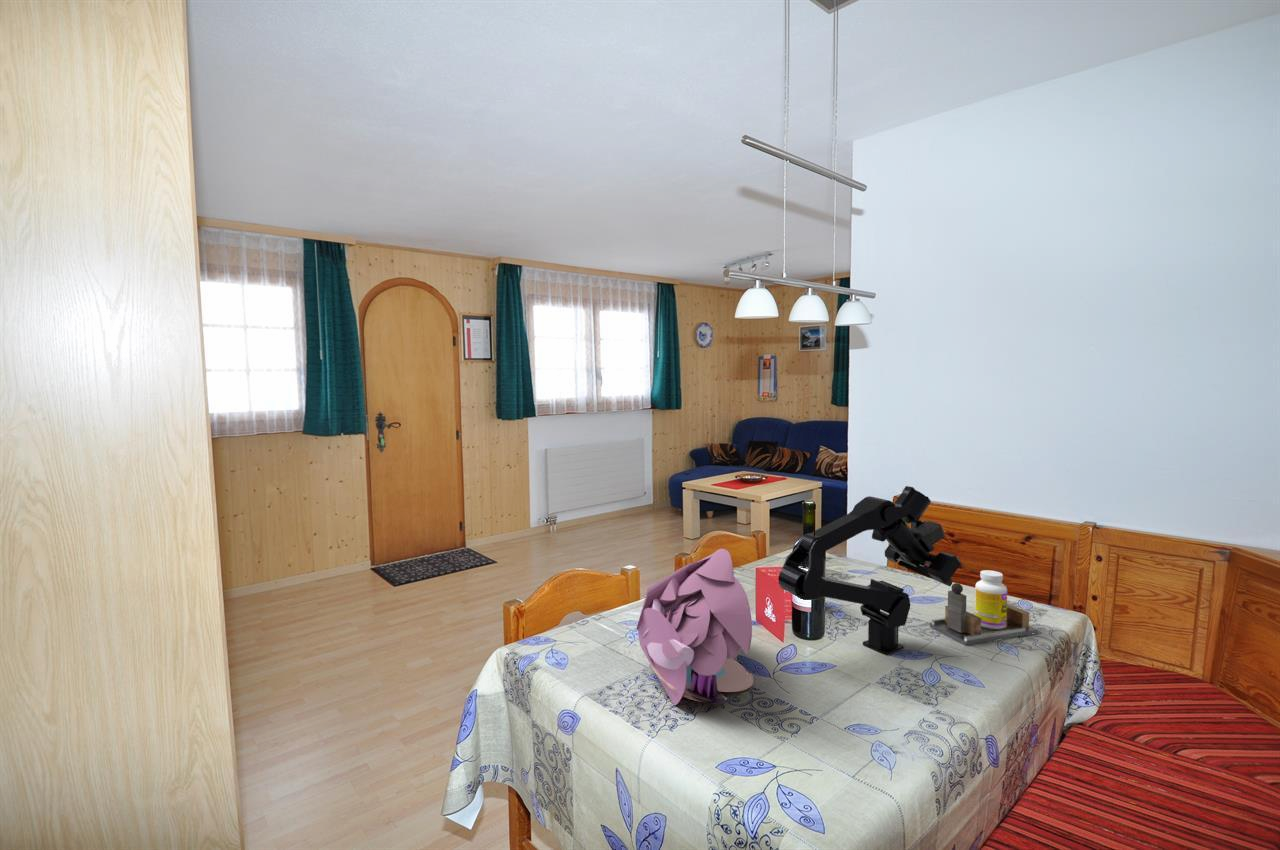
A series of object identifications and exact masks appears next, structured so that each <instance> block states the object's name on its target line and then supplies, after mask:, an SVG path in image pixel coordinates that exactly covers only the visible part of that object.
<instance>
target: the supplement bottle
mask: <svg viewBox="0 0 1280 850" xmlns="http://www.w3.org/2000/svg"><path fill="white" fill-rule="evenodd" d="M979 577H980V580H979V581H977V582H976V583H975V589H974V591H975V592H974V595H975V596H974V597H975V600H974V614H975V615H976V616H978V617H980V618H981V627H984V628H988V629H995V630H1000V629H1004V628H1005V627H1006V623H1007V604H1008V588H1007V586H1006V585H1005V584H1004V583H1002V582H1003V580H1004V575H1003V573H1002V572H1000V571H996V570H989V569H988V570H987V569H986V570H981V571H980V573H979Z"/></svg>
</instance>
